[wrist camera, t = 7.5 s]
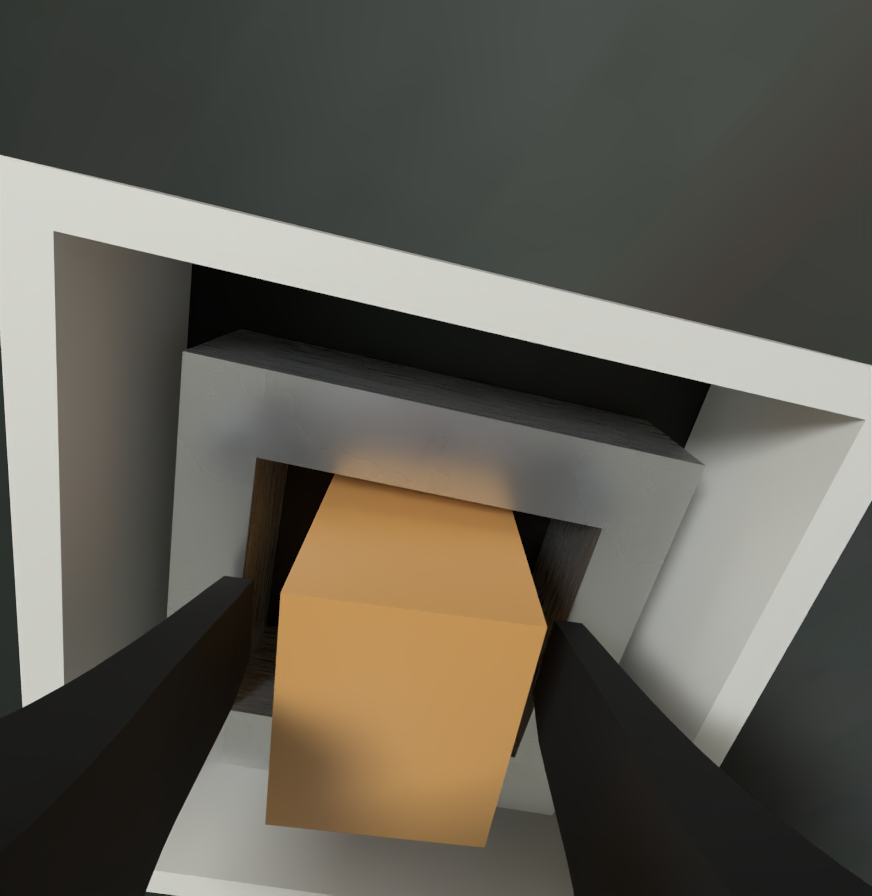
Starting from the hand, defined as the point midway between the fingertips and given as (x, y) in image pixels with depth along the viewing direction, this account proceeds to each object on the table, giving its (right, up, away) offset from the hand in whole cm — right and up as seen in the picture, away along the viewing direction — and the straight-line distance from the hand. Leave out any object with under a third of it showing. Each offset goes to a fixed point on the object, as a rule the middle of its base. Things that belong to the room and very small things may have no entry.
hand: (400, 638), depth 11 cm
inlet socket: (0, +1, +3) cm, 3 cm away
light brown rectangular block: (0, +1, +3) cm, 4 cm away
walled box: (0, +1, +3) cm, 3 cm away
